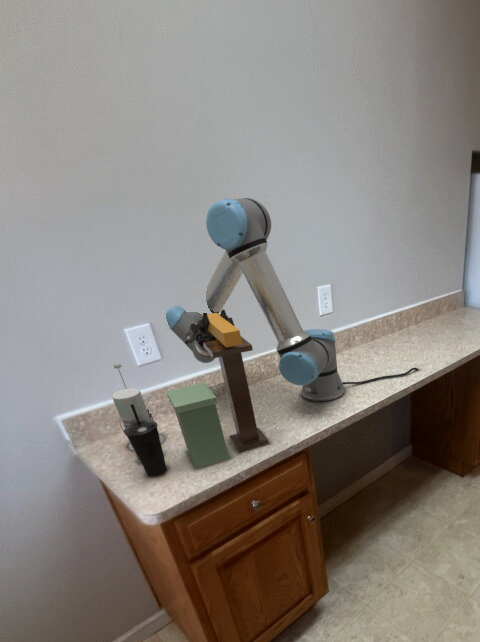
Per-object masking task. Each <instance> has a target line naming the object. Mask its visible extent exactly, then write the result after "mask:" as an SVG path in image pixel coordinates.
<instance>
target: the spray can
mask: <svg viewBox="0 0 480 642" xmlns="http://www.w3.org/2000/svg"><path fill="white" fill-rule="evenodd" d="M142 395H143V394H142V392H141V390H140V389H139V388H133V387H132V388H131V387H130V388H127V389H126V388H125V389H121V390H117V391H116V392H114V393H113V394H112V395H111V399H112V401H113V403H114V406H115V405H116V406H115V408H116V410H117V412H118V415H119V419H120V418H121V423H122V425H123V427H124V429H125V428H126V427H127V426H129V425H131V424H133V423H135V422H137V421H136V419H135V416H134V413H133V411H132V408H131V406H130V405H131V404H133V405H134V407H135V410H136V413H137V415H138V418H139V421H151V420H150V417H149V415H148V412H147V409H148V408H147V406H146V403H145V402H144V400H143V398H142ZM133 451H134V453H135V454H134V455H135V456H136V459H137V461H138V463H140V464H141V462H140V460H139V458H138V456H137V454H136V452H135V450H133Z"/></svg>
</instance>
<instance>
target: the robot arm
mask: <svg viewBox="0 0 480 642" xmlns="http://www.w3.org/2000/svg"><path fill="white" fill-rule="evenodd" d="M205 220H206V221H205V225H206V231H207V233H208V235H209V238H210V239H211V241H212V242H213V243H214V244H215V245H216V246H217V247H220V248H221V249H223V250H224V252H223V255H222V257H221V258H220V260H219V262H218V264H217V266H216V268H215V270H214V272H213V274H212V275H211V277H210V280H209V281H210V282H209V281H208V283H209V284H208V283H207V285H208V286H207V285H206V287H207V291H206V302H207V305H208V308H209V309H210V311H211V312H212V313H217V314H218V313H219V312H220V311H221V310H222V311H221V314H220V316H221V317H223V318H224V319H225V320H227V321H228V322H229V323H231V324H232V325H233V326H234V327H236V325H235V323H234V320H233V317H229V315H227V313H226V310H225V309H224V308H225V306H226V304H227V302H228V300H229V299H230V297H231V295H232V293H233V292H234V290H235V288H236V287H237V285H238V283H239V282H240V279H241V278H242V276H243V275H244V278H245V280H246V282H247V283H248V285H249V288H250V290H251V292H252V293H253V296H254V298H255V300H256V302H257V303H258V305H259V307H260V309H261V311H262V313H263V315H264V317H265V319H266V321H267V323H268V325H269V327H270V329H271V331H272V333H273V335H274V337H275V339H276V341H277V345H276V347H275V348H276V352H277V354H278V356H279V362H278V370H279V373H280V374H281V376H282V377H283V379H285V380H286V381H287V382H288V383H290V384H293V385H294V386H300V387H302V388H301V389H302V390H301V391H302V392H301V393H302V397H303V398H304V399H306V400H308V401H311V402H328V401H333V400H336V399H338V398H340V397H342V396H343V395H344V394H345V386H344V385H360V384H367V383H370V382H374V381H378V380H382V379H390V378H397V377H398V378H399V377H403V376H406V375H408V374H409V373H411V372H412V371H419V368H417V367H412V368H410V369H408V370H407V371H405V372H403V373H398V374H389V375H383V376H377V377H374V378H370V379H367V380H362V381H342V379H341V376H340V374H339V372H338V363H337V362H338V361H337V360H338V359H337V347H336V338H335V334H334V331H332V330H330V329H326V328H325V329H324V328H323V329H322V328H314V329H311V328H310V329H304V330H303V328H302V325H301V323H300V321H299V319H298V316H297V315H296V313H295V310H294V308H293V306H292V304H291V302H290V299H289V298H288V296H287V293H286V291H285V290H284V287H283V285H282V282H281V281H280V278H279V276H278V274H277V272H276V269H275V268H274V265H273V263H272V261H271V260H270V257H269V255H268V253H267V249H268V246H269V243H268V241H267V240H268V238H269V237H270V234H271V231H272V219H271V216H270V213H269V211H268V210H267V208H266V207H265V206H264V205H263V204H262V203H261V202H260V201H258V200H256V199H254V198H250V197H244V198H231V197H230V198H224V199H221V200H217V201H215V202H214V203H213V204H211V205H210V207H209V209H208V211H207V214H206V218H205ZM173 306H174V307H173ZM173 306H171V307H170V308H169V309H168V310H167V311H166V312H167V313H166V312H165V313H166V319H167V322H168V325H169V327H170V328H169V327H168V328H169V330H170V329H171V330H170V331H171V332H173V333H174V334H175V335H176V336H177V338H179V339H180V340H181V341H182V343H183V344H185V345H186V347H187V348H188V349H189V350H190V351H191V352H192V354H193V357H194V359H196V360H197V361H198V362H200V363H201V364H209V363H212V362H213V361H215V359H216V358H213V357H212V356H211V355H210V354H209V352H208V351H207V350H206V349H205V348H204V345H203V342H209V341H214V340H218V339H217V338H216V337H215V336H214V335H212V334H211V333H210V332H209V331H208V327H209V323H210V322H209V319H208V316H207V313H203V317H202V314H200V313H198V312H186V309H185V308H183V307H182V306H181V305H179V306H175V305H173ZM180 306H181V307H182V308H181V307H180ZM184 309H185V310H184Z"/></svg>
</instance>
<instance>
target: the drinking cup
mask: <svg viewBox="0 0 480 642" xmlns="http://www.w3.org/2000/svg"><path fill="white" fill-rule="evenodd" d="M130 406H131V408H132V411H133V413H134V416H135V419H136V421H137V422H135V423H133V424H131V425H129V426H127V427H126V428H125V427H124V428H123V430H124V432H123V434H124V436H126V437H127V439H128V441H129V444H130V443H131V445H132V447H133V449H134V450H135V451H134V450H133V451H134V453H135V452H136V454H137V456H138V458H139V460H140V462H141V463H140V462H139V463H140V464H141V466H142V467H143V469H144V472H145V473H146V475H147V477H151V478H156V477H157V478H158V477H160V476H162V475H164V474H165V473H167V470H168V468H167V464H166V460H165V456H164V452H163V447H162V443H161V442H160V438H159V431H158V423H157V422H156V421H155V420H154V421H139V418H138V415H137V413H136V410H135V407H134V405H133V404H131V405H130ZM136 454H135V455H136ZM137 456H136V457H137Z"/></svg>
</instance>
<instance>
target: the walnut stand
mask: <svg viewBox="0 0 480 642" xmlns="http://www.w3.org/2000/svg"><path fill="white" fill-rule="evenodd" d="M241 340H242V344H241V345H236V346H231V347H225V346H224V345H223V344H222V343H221V342H220V341H219V340H214V341H209V342H203V345H204V348H205V349H206V350H207V351H208V352H209V354H210V355H211V356H212V357H213V358H215V359H218V362H219V366H220V370H221V374H222V378H223V383H224V386H225V390H226V395H227V398H228V399H227V400H228V403H229V407H230V410H231V415H232V419H233V423H234V428H235V431H236V433H234V434H231V435H228V437H229V441H230V442H231V444H232V445H233V446H234V448H235V449H236V451H237V453H238V454H240V453H243V452H246V451H250V450H253V449H257V448H260V447H262V446H265V445H269V444H270V442H269V441H270V440H269V438H267V436H266V435H265V434H264V432H263V431H262V430H261V429H260V427H258V426H257V422H256V416H255V412H254V407H253V402H252V397H251V393H250V388H249V383H248V379H247V373H246V370H245V369H246V368H245V364H244V359H243V355H242V353H246V352H251V351H252V352H253V350H254V349H253V344H251V342H249V341H248V340H246V339H245V338H244V337H243V336H241Z"/></svg>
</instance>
